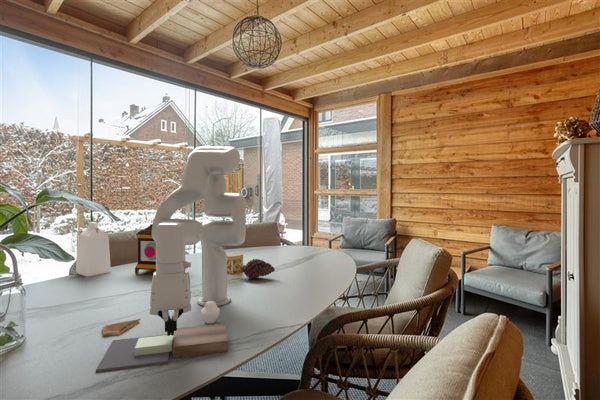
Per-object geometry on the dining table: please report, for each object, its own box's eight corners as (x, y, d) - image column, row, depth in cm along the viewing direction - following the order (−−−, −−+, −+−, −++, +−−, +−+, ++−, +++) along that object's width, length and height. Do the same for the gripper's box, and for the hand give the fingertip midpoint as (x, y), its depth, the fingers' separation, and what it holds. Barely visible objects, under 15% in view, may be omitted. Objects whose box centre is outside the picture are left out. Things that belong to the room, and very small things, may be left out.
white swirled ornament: (220, 324, 107) (220, 303, 107) (200, 326, 105) (200, 304, 105) (219, 317, 113) (219, 297, 113) (200, 319, 111) (200, 298, 111)
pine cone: (275, 276, 166) (275, 257, 166) (273, 282, 156) (273, 261, 156) (240, 275, 167) (241, 256, 167) (236, 281, 157) (236, 260, 157)
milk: (75, 272, 169) (75, 222, 168) (99, 268, 179) (99, 220, 178) (86, 276, 162) (86, 224, 161) (110, 271, 172) (110, 222, 171)
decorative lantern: (153, 266, 185) (153, 213, 184) (186, 267, 183) (186, 213, 182) (130, 275, 166) (130, 215, 165) (167, 277, 163) (167, 216, 162)
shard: (140, 323, 109) (140, 317, 108) (144, 331, 102) (144, 326, 102) (102, 330, 103) (102, 324, 103) (103, 340, 96) (103, 334, 96)
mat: (113, 342, 94) (113, 340, 94) (173, 335, 98) (173, 333, 98) (95, 372, 78) (95, 369, 78) (167, 362, 83) (167, 360, 83)
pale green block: (134, 355, 85) (134, 348, 85) (139, 345, 91) (139, 338, 91) (171, 351, 88) (171, 343, 88) (173, 341, 94) (173, 334, 93)
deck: (176, 338, 97) (176, 328, 97) (224, 332, 101) (224, 323, 101) (172, 358, 85) (172, 347, 85) (227, 351, 89) (227, 340, 89)
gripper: (199, 263, 96) (199, 325, 96) (143, 265, 91) (143, 331, 92) (199, 269, 89) (199, 336, 89) (138, 272, 84) (138, 343, 85)
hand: (170, 333), depth 91 cm, fingers closed
